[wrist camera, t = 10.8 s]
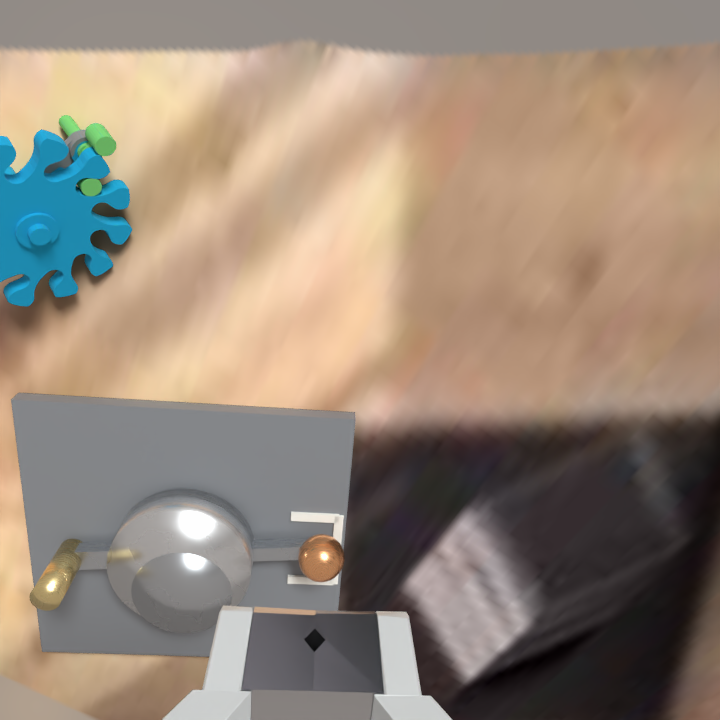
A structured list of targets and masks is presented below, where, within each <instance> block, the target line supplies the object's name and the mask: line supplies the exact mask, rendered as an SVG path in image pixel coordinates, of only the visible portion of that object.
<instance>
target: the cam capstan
mask: <svg viewBox="0 0 720 720" xmlns="http://www.w3.org/2000/svg"><path fill="white" fill-rule="evenodd" d="M283 560H298V561H299V566H300V569H301V571H302V572H303V574H304V575H305V576H306V577H307V578H309V579H310V580H312V581H315V582H327V581H330V580H332V579H333V578H335V577H336V576H337V575H338V574H339V573H340V571H341V569H342V567H343V564H344V551H343V548H342V546H341V544H340V543H339V542H338V541H337V540H336V539H335V538H334V537H332V536H329V535H326V534H317V535H314V536H312V537H310V538H282V539H254V536H253V533H252V530H251V528H250V526H249V524H248V522H247V520H246V519H245V517H244V516H243V515H242V514H241V513H240V512H239V510H238V509H236V508H235V507H234V506H233V505H232V504H230V503H229V502H227V501H226V500H224V499H222V498H220V497H218V496H216V495H214V494H211V493H208V492H205V491H201V490H195V489H183V488H179V489H170V490H165V491H161V492H158V493H155V494H152V495H150V496H148V497H146V498H144V499H143V500H141V501H140V502H138V503H137V504H136V505H135V506H134V507H133V508H132V509H131V510H130V511H129V512H128V514H127V515H126V517H125V519H124V520H123V522H122V524H121V526H120V528H119V530H118V532H117V534H116V536H115V538H114V540H113V542H85V543H83V542H82V541H80V540H78V539H67V540H65V541H63V542H62V544H61V545H60V547H59V548H58V550H57V552H56V553H55V555H54V556H53V558H52V560H51V561H50V563H49V564H48V566H47V568H46V569H45V571H44V572H43V574H42V576H41V577H40V579H39V581H38V582H37V584H36V585H35V587H34V589H33V590H32V592H31V594H30V601H31V603H32V604H33V605H34V606H35V607H36V608H38V609H41V610H45V611H50V610H54V609H56V608H57V607H58V606H59V605H60V603H61V601H62V599H63V598H64V596H65V594H66V592H67V590H68V589H69V587H70V585H71V583H72V581H73V579H74V578H75V576H76V574H77V572H78V570H93V569H107V574H108V578H109V581H110V583H111V586H112V588H113V590H114V591H115V593H116V594H117V596H118V597H119V598H120V599H121V601H122V602H123V603H124V604H125V605H127V606H128V607H129V608H130V609H132V610H133V611H134V612H136V613H137V614H139V615H141V616H142V617H143V618H145V619H146V620H147V621H148V622H150V623H151V624H153V625H154V626H156V627H158V628H161V629H163V630H166V631H170V632H175V633H195V632H200V631H203V630H206V629H208V628H211V627H212V626H214V625H216V624H217V621H218V616H219V612H220V610H221V608H222V606H223V605H224V606H237V605H238V604H239V603H240V601H241V600H242V599H243V597H244V595H245V593H246V591H247V589H248V586H249V583H250V577H251V571H252V565H253V561H283Z"/></svg>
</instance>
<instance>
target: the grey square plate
mask: <svg viewBox="0 0 720 720" xmlns="http://www.w3.org/2000/svg"><path fill="white" fill-rule="evenodd" d="M11 402H12V410H13V418H14V427H15V435H16V443H17V451H18V459H19V467H20V476H21V484H22V492H23V500H24V508H25V516H26V524H27V533H28V541H29V549H30V557H31V565H32V573H33V582H34V587H35V585H36V584H37V582H38V581H39V579H40V577H41V576H42V574H43V572H44V571H45V569H46V568H47V566H48V564H49V563H50V561H51V560H52V558H53V556H54V555H55V553H56V552H57V550H58V548H59V547H60V545H61V544H62V542H63V541H65V540H67V539H78V540H80V541H82V542H83V543H85V542H113V540H114V538H115V536H116V534H117V532H118V530H119V528H120V526H121V524H122V522H123V520H124V519H125V517H126V515H127V514H128V512H129V511H130V510H131V509H132V508H133V507H134V506H135V505H136V504H137V503H138V502H140V501H141V500H143V499H144V498H146V497H148V496H150V495H152V494H155V493H158V492H161V491H165V490H170V489H179V488H183V489H195V490H201V491H205V492H208V493H211V494H214V495H216V496H218V497H220V498H222V499H224V500H226V501H227V502H229V503H230V504H232V505H233V506H234V507H235V508H236V509H238V510H239V512H240V513H241V514H242V515H243V516H244V517H245V519H246V520H247V522H248V524H249V526H250V528H251V530H252V533H253V536H254V539H282V538H310V537H312V536H314V535H317V534H326V535H329V536H332V537H334V538H335V539H336V540H337V541H338V542H339V543H340V544H341V546H342V548H343V549H344V539H345V528H346V517H347V506H348V495H349V484H350V473H351V463H352V452H353V441H354V430H355V412H339V411H322V410H305V409H287V408H270V407H253V406H236V405H219V404H202V403H185V402H167V401H150V400H133V399H116V398H99V397H82V396H65V395H47V394H30V393H18V394H17V395H16V396H15V397H14V398H12V399H11ZM341 571H342V569H341ZM341 571H340V573H339V574H338V575H337V576H336V577H335V578H333V579H332V580H330V581H327V582H315V581H312V580H310V579H309V578H307V577H306V576H305V575H304V574H303V572H302V571H301V569H300V566H299V561H298V560H283V561H253V565H252V571H251V577H250V583H249V586H248V589H247V591H246V593H245V595H244V597H243V599H242V600H241V601H240V603H239V604H238V605H237V606H239V607H253V608H255V607H268V608H284V609H301V610H329V611H338V604H339V593H340V582H341ZM37 614H38V622H39V631H40V639H41V647H42V652H73V653H106V654H138V655H171V656H203V657H210V652H211V648H212V643H213V639H214V634H215V630H216V625H217V624H216V625H214V626H212V627H211V628H208V629H206V630H203V631H200V632H195V633H175V632H170V631H166V630H163V629H161V628H158V627H156V626H154V625H153V624H151V623H150V622H148V621H147V620H146V619H145V618H143V617H142V616H141V615H139V614H137V613H136V612H134V611H133V610H132V609H130V608H129V607H128V606H127V605H125V604H124V603H123V602H122V601H121V599H120V598H119V597H118V596H117V594H116V593H115V591H114V590H113V588H112V586H111V583H110V581H109V578H108V574H107V569H93V570H78V572H77V574H76V576H75V578H74V579H73V581H72V583H71V585H70V587H69V589H68V590H67V592H66V594H65V596H64V598H63V599H62V601H61V603H60V605H59V606H58V607H57V608H56V609H54V610H50V611H45V610H41V609H38V608H37Z"/></svg>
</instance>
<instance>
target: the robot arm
mask: <svg viewBox="0 0 720 720" xmlns="http://www.w3.org/2000/svg"><path fill="white" fill-rule="evenodd" d="M162 720H452V719H451V718H450V717H449V716H448V714H447V713H446V712H445V711H444V710H443V709H442V708H441V707H440V706H439V704H438V703H437V702H436V701H435V700H434V699H433V698H432V697H431V696H422V695H421V689H420V683H419V677H418V671H417V664H416V658H415V652H414V646H413V639H412V633H411V627H410V621H409V616H408V614H407V613H406V612H384V611H376V613H375V612H367V611H329V610H301V609H284V608H268V607H255V608H253V607H239V606H224V605H223V606H222V608H221V610H220V612H219V616H218V621H217V625H216V630H215V634H214V639H213V643H212V648H211V652H210V657H209V661H208V666H207V670H206V675H205V679H204V684H203V688H202V690H192V691H191V692H190V693H189V694H188V695H187V696H186V697H184V698H183V699H182V700H181V701H180V702H179V703H178V704H177V705H176V706H175V707H174V708H173V709H172V710H171V711H170V712H169V713H168V714H167V715H166V716H165V717H164V718H163V719H162Z"/></svg>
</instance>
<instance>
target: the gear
mask: <svg viewBox="0 0 720 720" xmlns="http://www.w3.org/2000/svg"><path fill="white" fill-rule="evenodd" d="M59 124H60V126H61V127H62V129H63V130H64V132H65V133H66V135H67V136H68V138H67V139H66V140H65V141H63V139H62V138H60V137H59V136H57V135H56V134H54V133H51V132H48V131H45V130H42V129H41V130H40V131H38V132H37V133H36V135H35V137H34V151H33V154H32V157H31V158H30V160H29V162H28V163H27V164H26V165H25V166H24V168H23V169H22V170H21V171H19V172H18V173H15V172H14V170H13V169H12V168H11V167H10V165H11V163H12V162H13V161H14V160H15V157H16V151H15V149H14V147H13V145H12V144H11V142H10V141H9V139H8V138H7V137H4V136H0V282H2V281H3V280H5V279H7V278H10V277H12V276H15V275H18V274H24V276H23V277H22V278H20V279H18V280H15V281H13V282H10V283H9V284H7V285H6V286H5V288H4V294H5V297H6V299H7V301H8V302H9V303H11V304H14V305H18V306H29V305H31V304H32V303H33V301H34V291H35V288H36V285H37V284H38V282H39V281H40V280H41V278H42V277H43V276H44V275H45V274H46V273H48V272H49V271H52V270H58V271H57V272H56V273H55V274H54V275H53V276H52V277H51V278H50V280H49V286H50V288H51V290H52V291H53V293H54V295H55V296H56V297H65V296H69V295H73V294H76V293H77V291H78V286H77V284H76V282H75V281H74V279H73V277H72V276H71V267H72V263H73V260H74V258H75V257H76V256H78V255H80V254H86V256H85V264H86V266H87V267H88V269H89V270H90V272H91V273H92V274H93V275H94V276H98V275H101V274H103V273H104V272H106V271H107V270H109V269H110V268H111V267H113V263H112V261H111V259H110V258H109V256H108V255H107V253H106V252H105V251H104V250H101V249H98V248H96V247H94V246H93V245H92V244H91V241H90V237H91V235H92V233H93V232H95V231H97V230H105V232H106V234H107V235H108V237H109V238H110V240H111V241H112V242H113V243H115V244H119V245H120V244H123V243H124V242H125V241H126V240H127V238H128V237H129V235H130V233H131V231H132V228H131V227H130V225H129V224H128V222H127V221H126V220H125V219H124V218H123V217H118V216H117V217H105V216H101V215H98V214H96V213H94V212H93V211H92V208H93V207H94V206H95V205H96V204H98V203H101V202H104V203H107V204H109V205H110V206H112V207H113V208H115V209H125V208H127V207H128V205H129V201H130V194H129V189H128V188H127V186H126V185H125V184H124V182H123V181H121V180H113V181H110V182H109V183H107V184H105V185H102V184H101V182H100V181H99V179H101V178H104V177H105V176H107V175H108V174H109V172H110V170H109V167H108V165H107V164H106V162H105V161H104V159H103V158H102V156H108V155H111V154H112V153H113V152H114V151H115V149H116V142H115V141H114V139H113V138H112V137H111V135H110V134H109V133H108V131H107V130H106V129H105V127H104V126H103V125H101V124H98V123H94V124H91V125H89V126H88V127H87V129H86V130H80V129H79V127H78V126H77V124H76V123H75V122H74V120H73V119H72V118H71V117H70V116H68V115H64V116H62V117H61V118H60V119H59ZM76 184H77V185H78V186H79V187H76Z"/></svg>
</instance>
